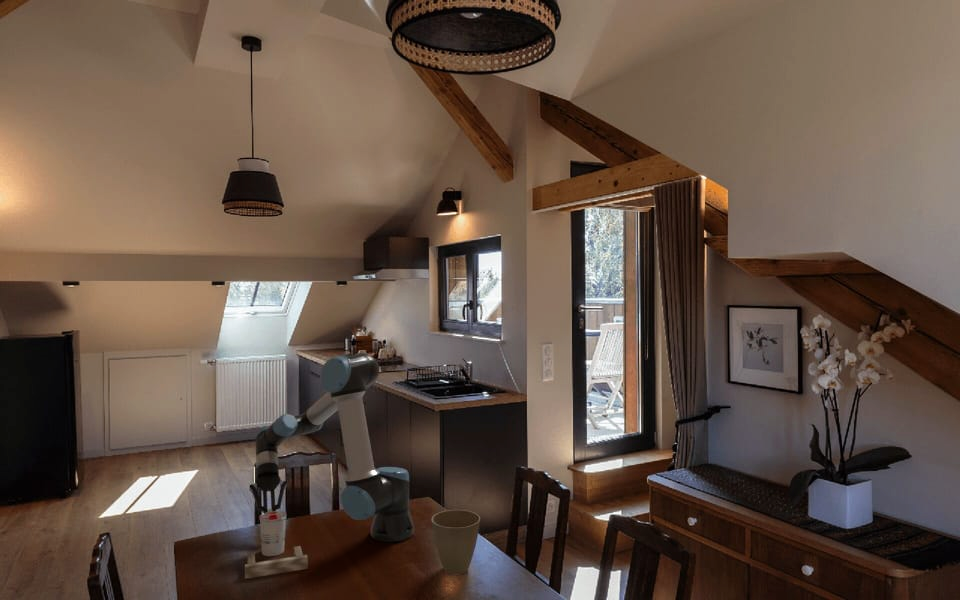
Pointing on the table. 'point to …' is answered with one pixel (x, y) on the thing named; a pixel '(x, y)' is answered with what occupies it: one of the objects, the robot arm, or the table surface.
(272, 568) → the cream wooden u-shaped piece
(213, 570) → the table surface
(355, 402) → the robot arm
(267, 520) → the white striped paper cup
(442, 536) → the plant pot
